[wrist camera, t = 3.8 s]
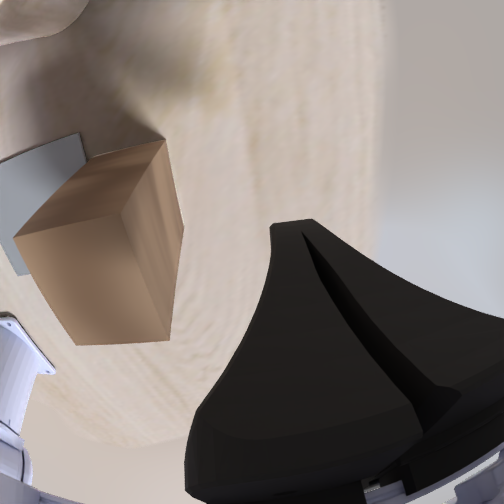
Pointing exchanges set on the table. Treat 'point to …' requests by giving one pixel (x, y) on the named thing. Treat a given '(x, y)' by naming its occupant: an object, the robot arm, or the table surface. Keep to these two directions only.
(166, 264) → the walnut block
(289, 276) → the robot arm
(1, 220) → the mat
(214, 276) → the table surface
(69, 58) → the table surface
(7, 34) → the cup with straw
